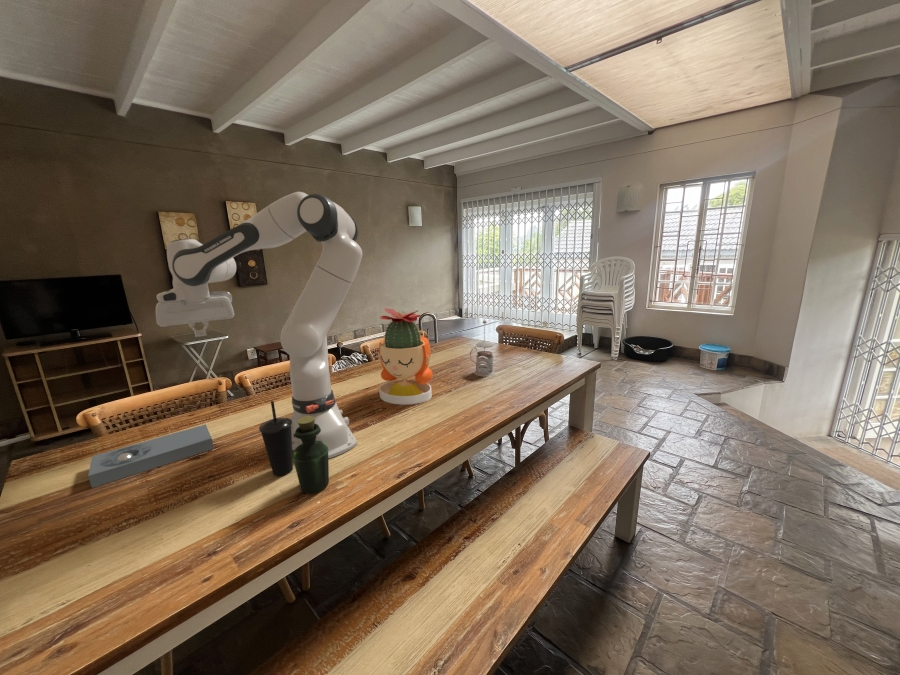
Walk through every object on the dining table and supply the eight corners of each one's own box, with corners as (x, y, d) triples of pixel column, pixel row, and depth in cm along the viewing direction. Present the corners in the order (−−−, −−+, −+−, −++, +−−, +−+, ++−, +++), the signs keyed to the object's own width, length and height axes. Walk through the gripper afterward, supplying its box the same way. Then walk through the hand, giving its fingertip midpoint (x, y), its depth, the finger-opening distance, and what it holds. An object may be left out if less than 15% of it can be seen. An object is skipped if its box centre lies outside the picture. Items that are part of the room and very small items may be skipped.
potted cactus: (422, 407, 129) (418, 314, 120) (369, 400, 136) (362, 311, 127) (442, 386, 148) (439, 304, 140) (395, 381, 155) (390, 303, 147)
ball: (139, 460, 96) (124, 453, 94) (126, 473, 95) (110, 466, 93) (139, 454, 99) (124, 448, 97) (126, 466, 98) (111, 460, 95)
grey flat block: (207, 434, 113) (205, 424, 112) (213, 448, 104) (211, 438, 103) (95, 467, 96) (92, 456, 96) (91, 488, 88) (87, 476, 87)
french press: (496, 376, 158) (496, 322, 152) (470, 376, 158) (470, 322, 152) (493, 369, 168) (494, 318, 162) (469, 369, 168) (469, 318, 162)
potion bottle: (336, 474, 91) (328, 411, 86) (326, 496, 83) (317, 427, 78) (304, 476, 91) (295, 412, 86) (291, 497, 83) (281, 428, 78)
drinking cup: (278, 483, 88) (266, 410, 83) (261, 474, 92) (248, 403, 87) (304, 467, 94) (295, 399, 89) (287, 459, 98) (277, 393, 93)
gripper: (228, 289, 118) (235, 329, 121) (150, 295, 105) (160, 339, 108) (232, 290, 113) (239, 332, 117) (151, 297, 100) (161, 343, 104)
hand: (201, 335), depth 112 cm, fingers closed
